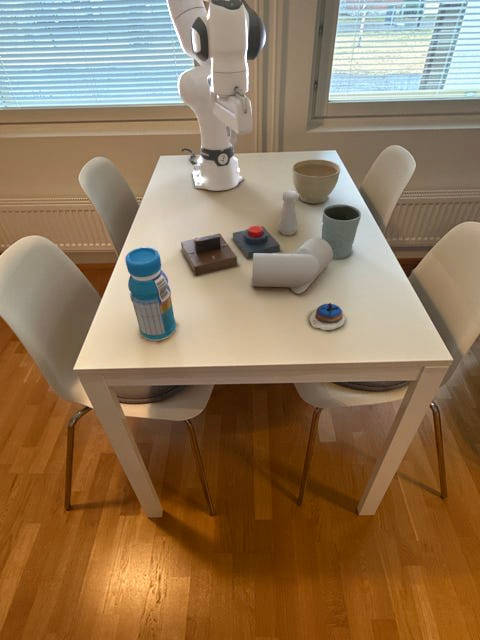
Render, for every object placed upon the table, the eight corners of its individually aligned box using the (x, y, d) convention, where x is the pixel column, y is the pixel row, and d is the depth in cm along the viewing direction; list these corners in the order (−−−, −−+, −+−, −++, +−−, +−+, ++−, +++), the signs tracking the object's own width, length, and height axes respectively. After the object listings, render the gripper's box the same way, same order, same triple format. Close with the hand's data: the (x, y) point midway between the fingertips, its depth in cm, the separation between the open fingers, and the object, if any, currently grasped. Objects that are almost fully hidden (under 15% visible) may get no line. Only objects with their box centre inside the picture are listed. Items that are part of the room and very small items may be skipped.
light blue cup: (314, 256, 113) (319, 217, 105) (321, 239, 120) (326, 201, 112) (351, 262, 110) (358, 223, 102) (356, 244, 117) (363, 206, 109)
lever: (218, 244, 113) (217, 232, 111) (220, 247, 112) (219, 235, 110) (195, 250, 112) (193, 238, 109) (196, 253, 110) (195, 241, 108)
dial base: (181, 250, 117) (180, 241, 115) (220, 242, 120) (219, 232, 118) (195, 276, 107) (194, 266, 105) (237, 266, 111) (236, 256, 108)
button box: (232, 239, 121) (232, 227, 119) (262, 232, 124) (263, 220, 121) (247, 259, 113) (247, 246, 110) (279, 251, 116) (280, 239, 113)
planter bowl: (336, 189, 146) (340, 159, 139) (336, 209, 134) (340, 177, 127) (292, 187, 148) (293, 157, 141) (288, 207, 136) (290, 175, 129)
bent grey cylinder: (304, 308, 94) (339, 267, 106) (298, 269, 88) (336, 230, 100) (243, 297, 104) (281, 261, 116) (234, 261, 98) (276, 227, 111)
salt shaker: (296, 237, 121) (299, 197, 112) (277, 236, 122) (278, 195, 113) (297, 228, 125) (301, 188, 117) (279, 227, 126) (281, 187, 118)
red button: (246, 232, 117) (246, 227, 116) (259, 229, 118) (259, 224, 117) (252, 239, 114) (252, 233, 113) (264, 236, 115) (264, 230, 114)
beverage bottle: (144, 347, 88) (124, 271, 74) (136, 323, 94) (116, 250, 80) (181, 335, 90) (168, 260, 77) (171, 313, 96) (157, 240, 83)
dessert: (341, 305, 95) (345, 299, 90) (344, 333, 94) (348, 328, 88) (307, 307, 96) (309, 301, 90) (309, 334, 95) (311, 329, 89)
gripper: (259, 90, 90) (258, 153, 100) (227, 74, 105) (230, 130, 114) (233, 94, 89) (235, 157, 98) (205, 77, 103) (209, 133, 112)
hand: (232, 142), depth 106 cm, fingers closed
